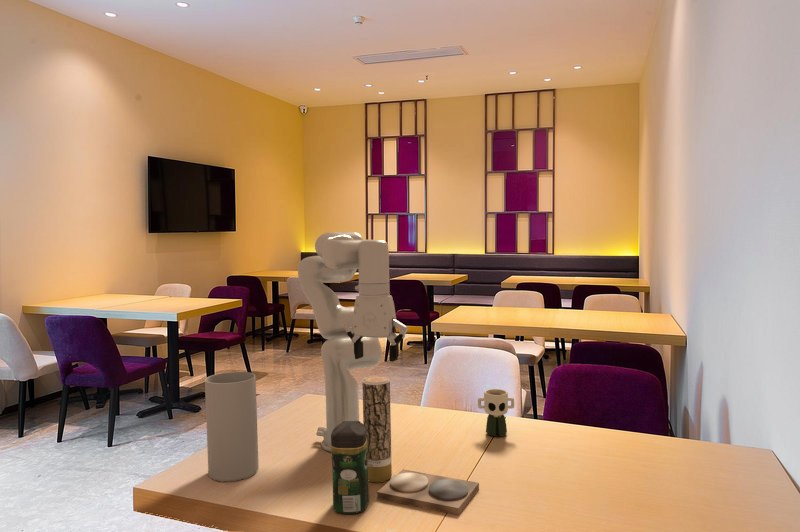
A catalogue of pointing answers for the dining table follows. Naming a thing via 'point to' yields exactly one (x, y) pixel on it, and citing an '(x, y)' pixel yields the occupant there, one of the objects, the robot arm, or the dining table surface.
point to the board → (429, 491)
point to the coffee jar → (349, 467)
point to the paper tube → (377, 427)
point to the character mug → (496, 410)
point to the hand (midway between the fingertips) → (376, 359)
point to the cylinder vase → (231, 425)
